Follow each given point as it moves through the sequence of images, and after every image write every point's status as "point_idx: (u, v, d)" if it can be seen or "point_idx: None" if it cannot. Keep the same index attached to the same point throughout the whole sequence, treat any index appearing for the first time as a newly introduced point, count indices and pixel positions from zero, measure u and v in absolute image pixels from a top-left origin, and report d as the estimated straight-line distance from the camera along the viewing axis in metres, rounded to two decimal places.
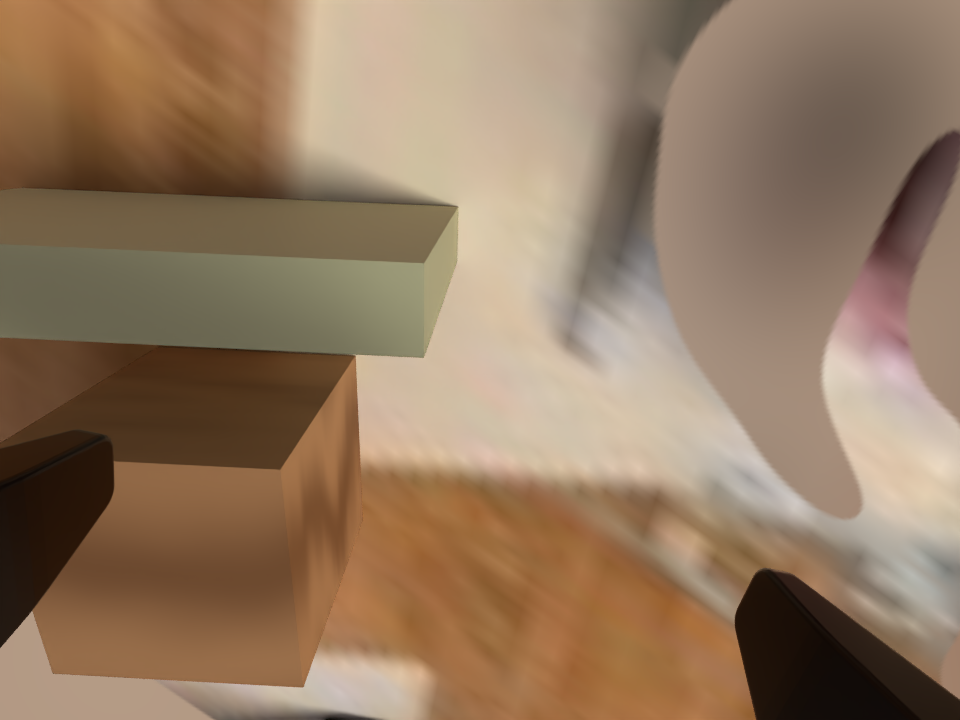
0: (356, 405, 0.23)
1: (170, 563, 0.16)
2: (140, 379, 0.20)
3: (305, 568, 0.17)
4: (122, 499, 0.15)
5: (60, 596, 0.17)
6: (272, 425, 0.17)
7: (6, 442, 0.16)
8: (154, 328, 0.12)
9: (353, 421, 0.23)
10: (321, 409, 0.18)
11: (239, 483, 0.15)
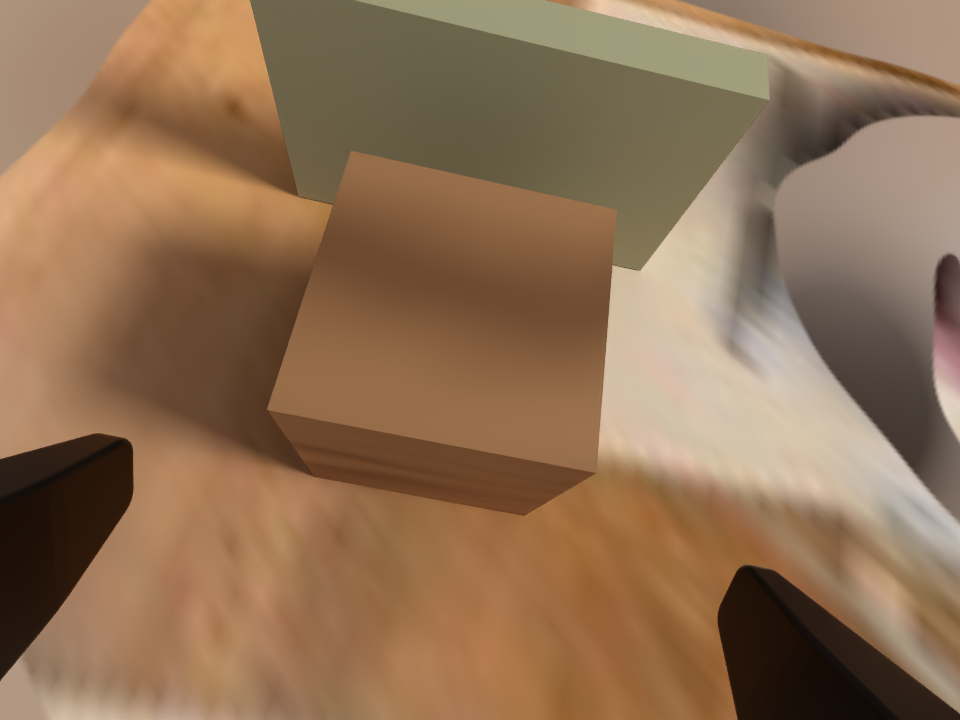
0: None
1: (486, 279, 0.15)
2: None
3: None
4: (463, 210, 0.16)
5: (343, 299, 0.15)
6: None
7: None
8: (592, 48, 0.17)
9: None
10: None
11: (578, 214, 0.17)
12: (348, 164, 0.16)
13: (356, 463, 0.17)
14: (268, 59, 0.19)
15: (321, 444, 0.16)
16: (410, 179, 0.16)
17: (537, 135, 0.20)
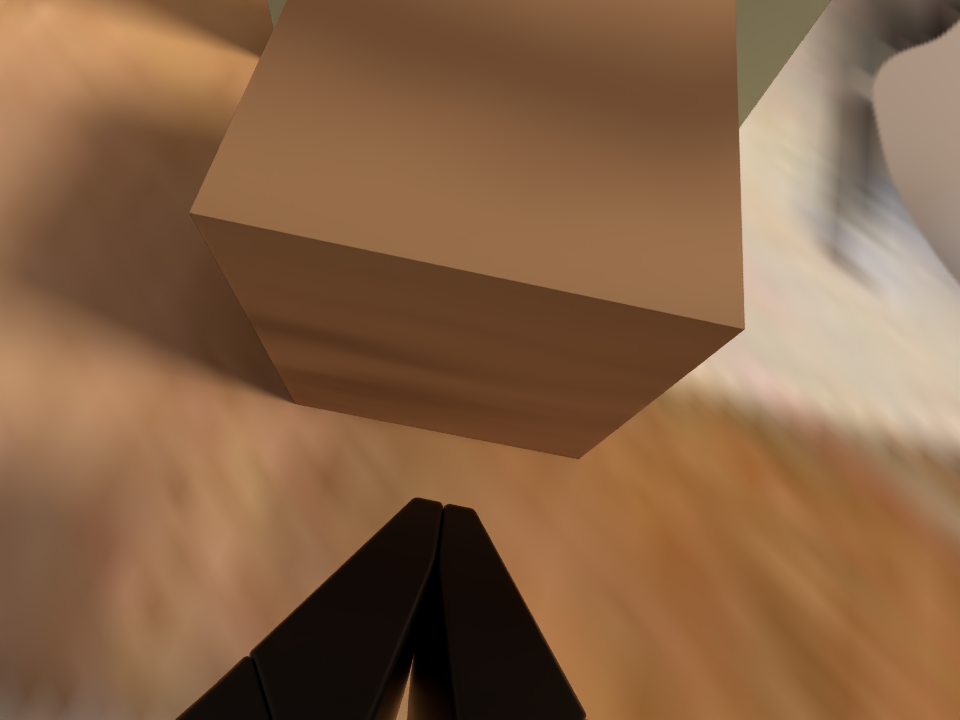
0: None
1: (549, 53, 0.10)
2: None
3: None
4: None
5: (325, 66, 0.09)
6: None
7: None
8: None
9: None
10: None
11: None
12: None
13: (349, 361, 0.12)
14: None
15: (293, 314, 0.10)
16: None
17: None
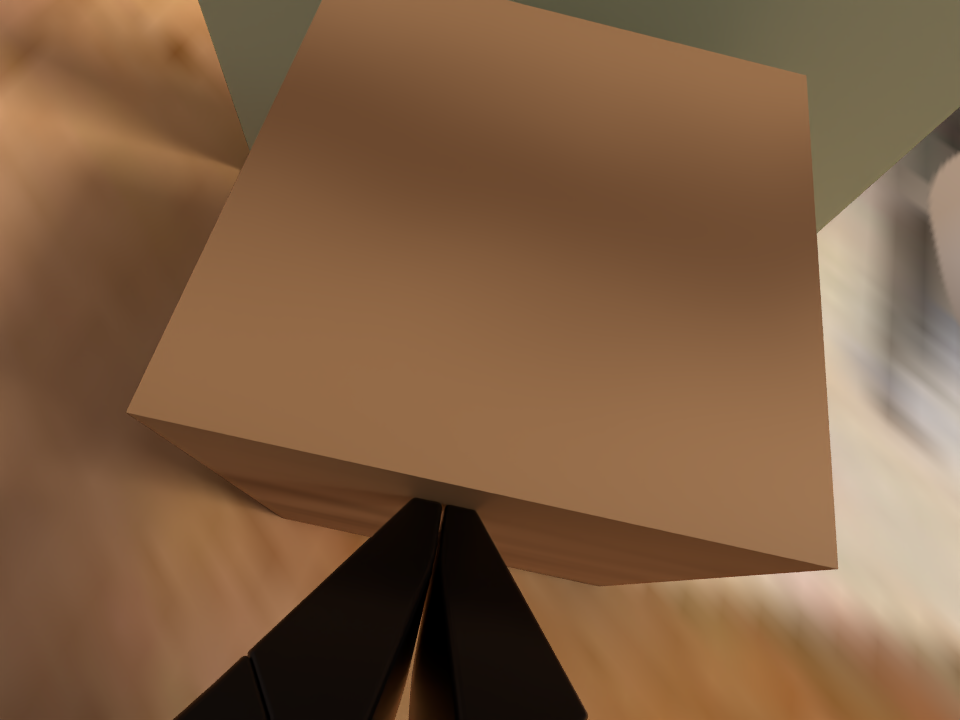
0: None
1: (585, 177, 0.08)
2: None
3: None
4: (540, 60, 0.09)
5: (312, 199, 0.07)
6: None
7: None
8: None
9: None
10: None
11: (741, 78, 0.09)
12: None
13: (338, 509, 0.10)
14: None
15: (268, 479, 0.08)
16: (445, 8, 0.09)
17: None
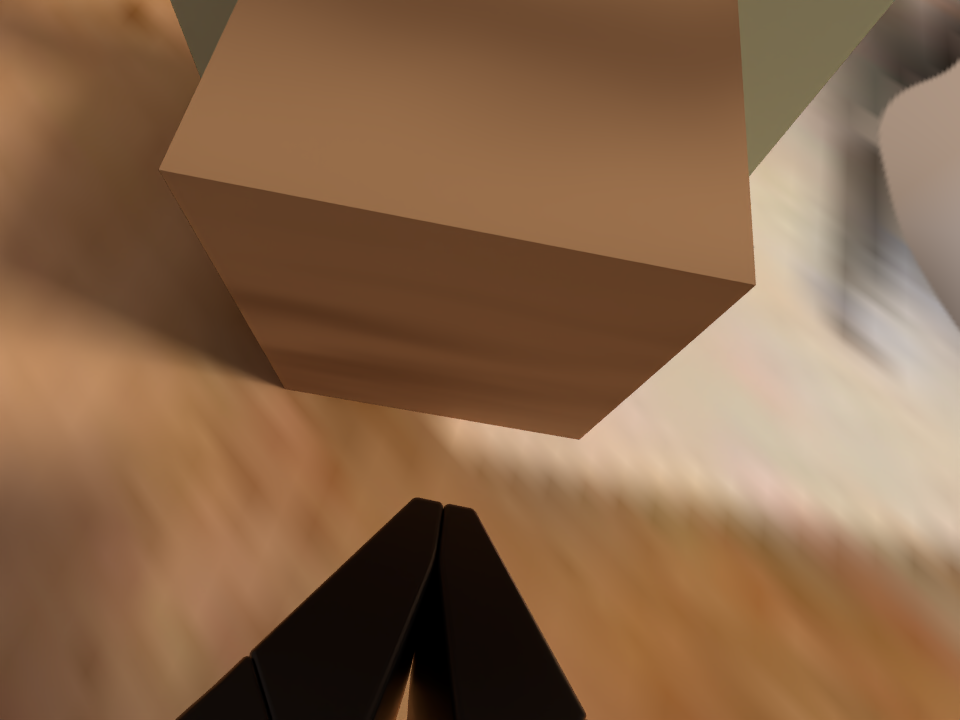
0: None
1: (541, 3, 0.09)
2: None
3: None
4: None
5: (303, 16, 0.09)
6: None
7: None
8: None
9: None
10: None
11: None
12: None
13: (338, 338, 0.11)
14: None
15: (276, 286, 0.10)
16: None
17: None
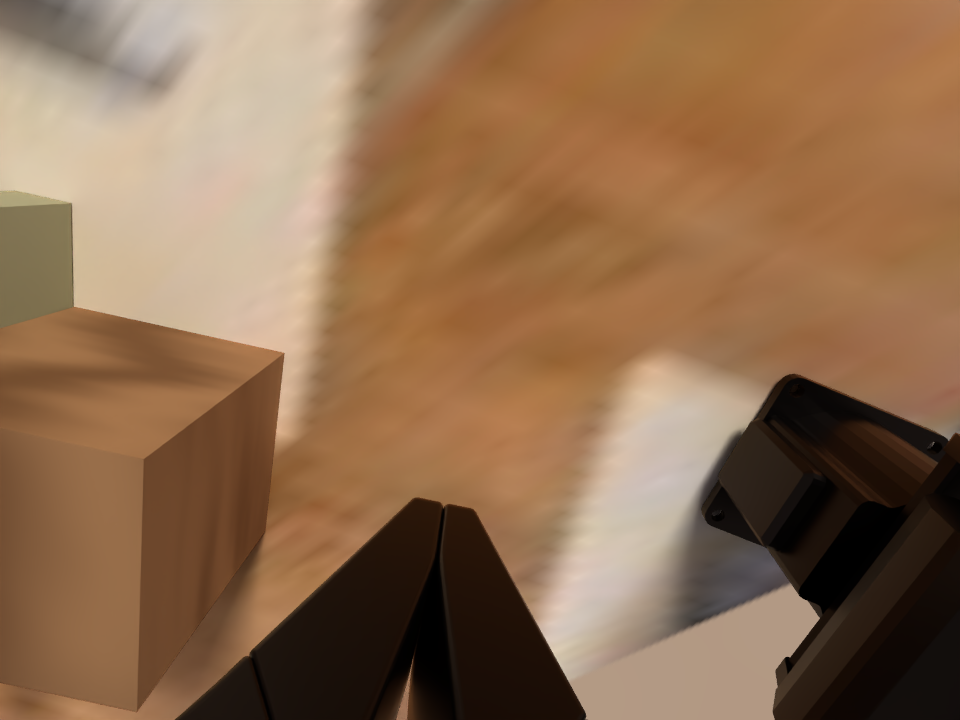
0: (126, 320, 0.21)
1: None
2: None
3: (24, 406, 0.14)
4: None
5: (20, 659, 0.15)
6: None
7: None
8: None
9: (127, 327, 0.20)
10: None
11: None
12: None
13: (220, 556, 0.19)
14: None
15: (190, 615, 0.18)
16: None
17: None
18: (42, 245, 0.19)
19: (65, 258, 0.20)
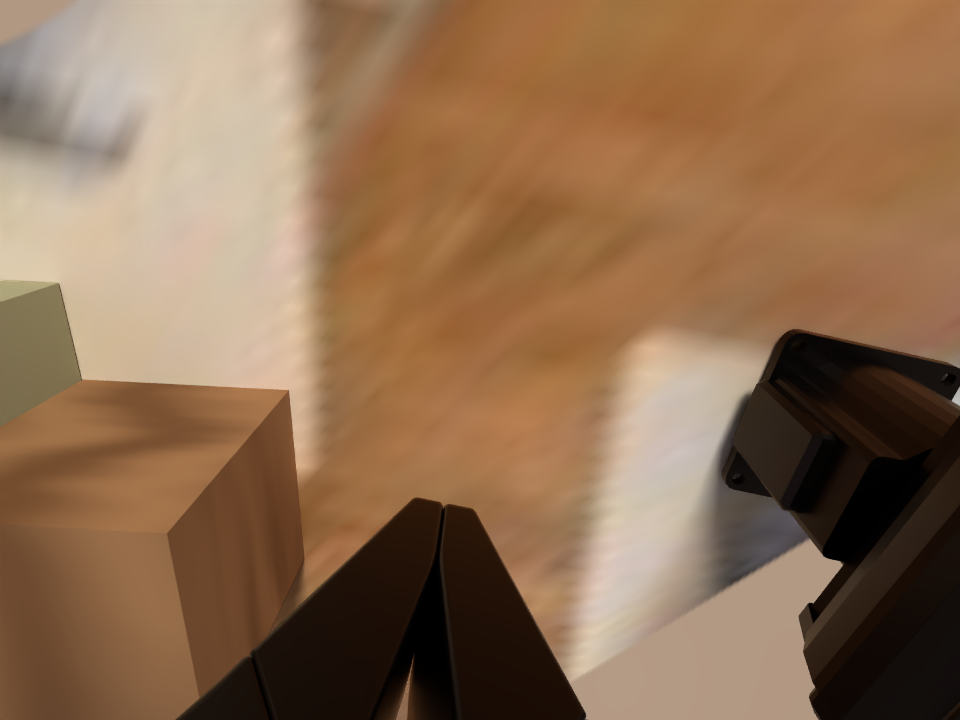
0: (133, 384, 0.22)
1: (14, 629, 0.15)
2: None
3: (48, 498, 0.15)
4: None
5: None
6: None
7: None
8: None
9: (135, 391, 0.21)
10: None
11: None
12: None
13: (263, 595, 0.20)
14: None
15: (244, 656, 0.19)
16: None
17: None
18: (39, 330, 0.20)
19: (64, 336, 0.21)
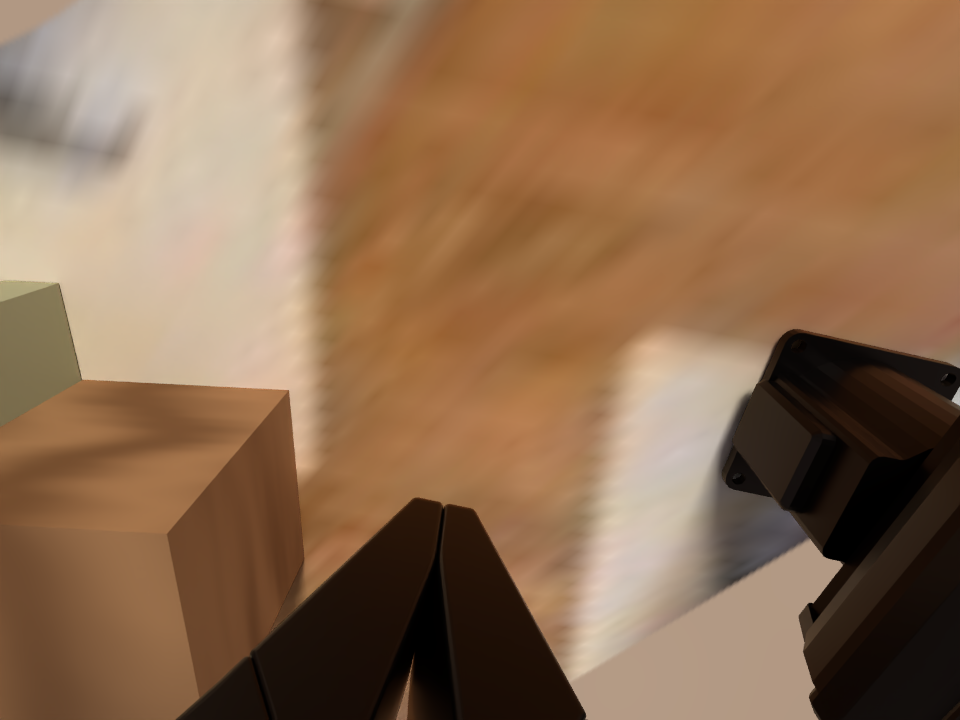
0: (133, 384, 0.22)
1: (14, 629, 0.15)
2: None
3: (49, 498, 0.15)
4: None
5: None
6: None
7: None
8: None
9: (135, 391, 0.21)
10: None
11: None
12: None
13: (263, 595, 0.20)
14: None
15: (244, 656, 0.19)
16: None
17: None
18: (39, 330, 0.20)
19: (64, 336, 0.21)
